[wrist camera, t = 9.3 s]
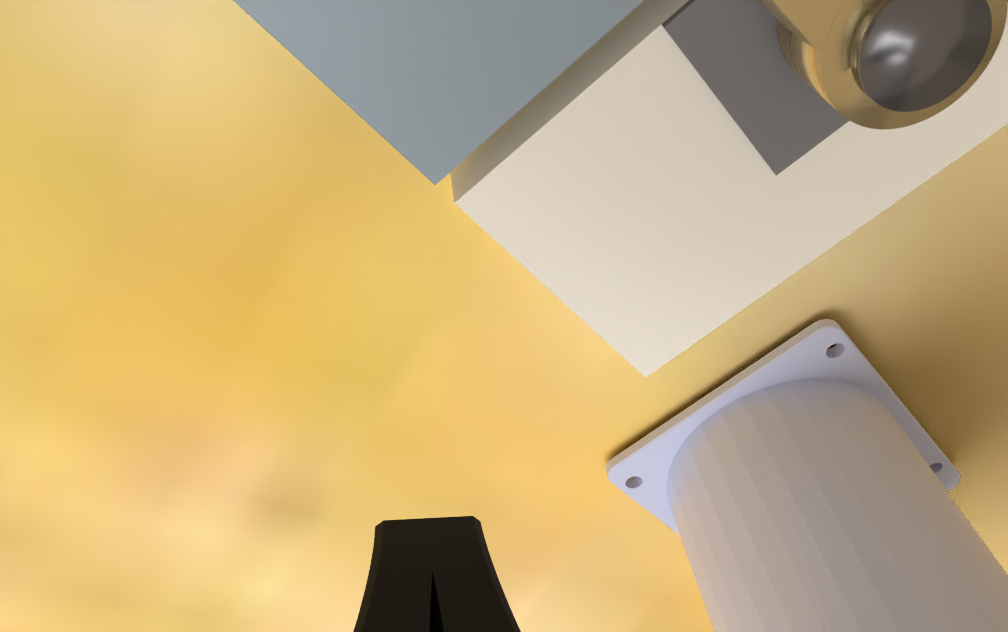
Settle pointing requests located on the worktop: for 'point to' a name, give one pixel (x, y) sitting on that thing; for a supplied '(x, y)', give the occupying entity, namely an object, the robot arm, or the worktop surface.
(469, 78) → the door panel
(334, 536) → the worktop surface
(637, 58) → the jamb plate
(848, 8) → the swing bar
